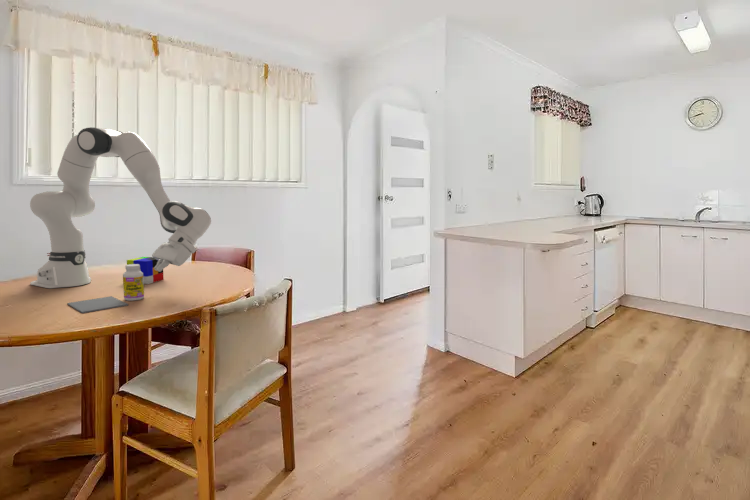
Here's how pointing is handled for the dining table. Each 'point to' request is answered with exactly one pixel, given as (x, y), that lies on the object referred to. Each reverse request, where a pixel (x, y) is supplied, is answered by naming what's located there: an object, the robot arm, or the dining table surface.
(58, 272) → the robot arm
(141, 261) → the puzzle toy
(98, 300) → the mat
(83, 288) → the dining table surface
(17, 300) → the dining table surface
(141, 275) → the supplement bottle
